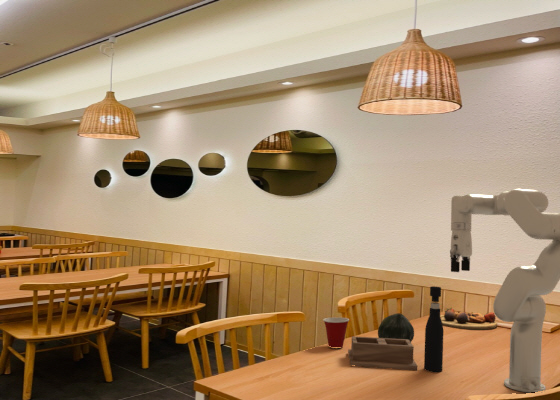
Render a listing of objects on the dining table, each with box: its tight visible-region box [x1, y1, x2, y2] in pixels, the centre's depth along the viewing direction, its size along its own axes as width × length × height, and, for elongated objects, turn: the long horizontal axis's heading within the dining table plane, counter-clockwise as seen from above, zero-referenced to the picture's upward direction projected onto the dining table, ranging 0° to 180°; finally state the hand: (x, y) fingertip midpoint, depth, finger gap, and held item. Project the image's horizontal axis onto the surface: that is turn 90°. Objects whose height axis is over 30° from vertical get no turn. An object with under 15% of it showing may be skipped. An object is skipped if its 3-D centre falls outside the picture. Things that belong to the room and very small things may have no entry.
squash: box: [377, 312, 415, 343], centre depth 226 cm, size 14×15×15 cm
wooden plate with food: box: [440, 307, 498, 331], centre depth 280 cm, size 32×32×8 cm
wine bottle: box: [423, 286, 444, 373], centre depth 193 cm, size 6×6×30 cm
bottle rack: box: [347, 336, 418, 371], centre depth 201 cm, size 18×24×8 cm
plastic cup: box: [322, 317, 350, 348], centre depth 219 cm, size 11×11×12 cm
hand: (460, 271), depth 206 cm, fingers open, 9 cm apart
